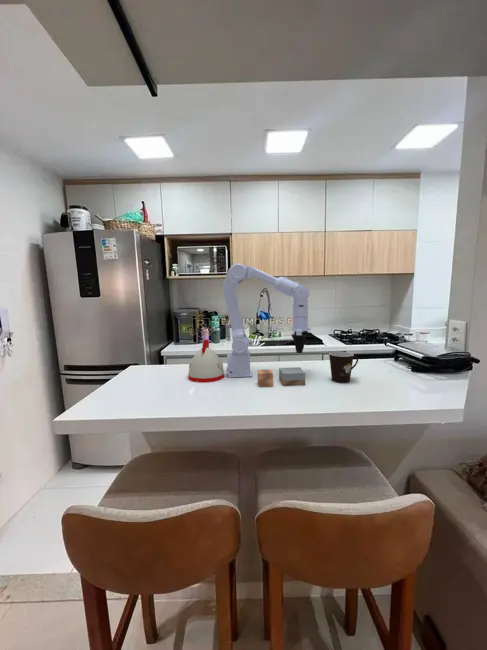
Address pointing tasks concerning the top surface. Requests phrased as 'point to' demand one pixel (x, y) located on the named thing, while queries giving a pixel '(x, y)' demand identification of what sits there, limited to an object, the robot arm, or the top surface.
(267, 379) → the terracotta cube
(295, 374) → the slate slab
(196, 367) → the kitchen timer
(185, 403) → the top surface
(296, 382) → the walnut slab
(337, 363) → the coffee mug
